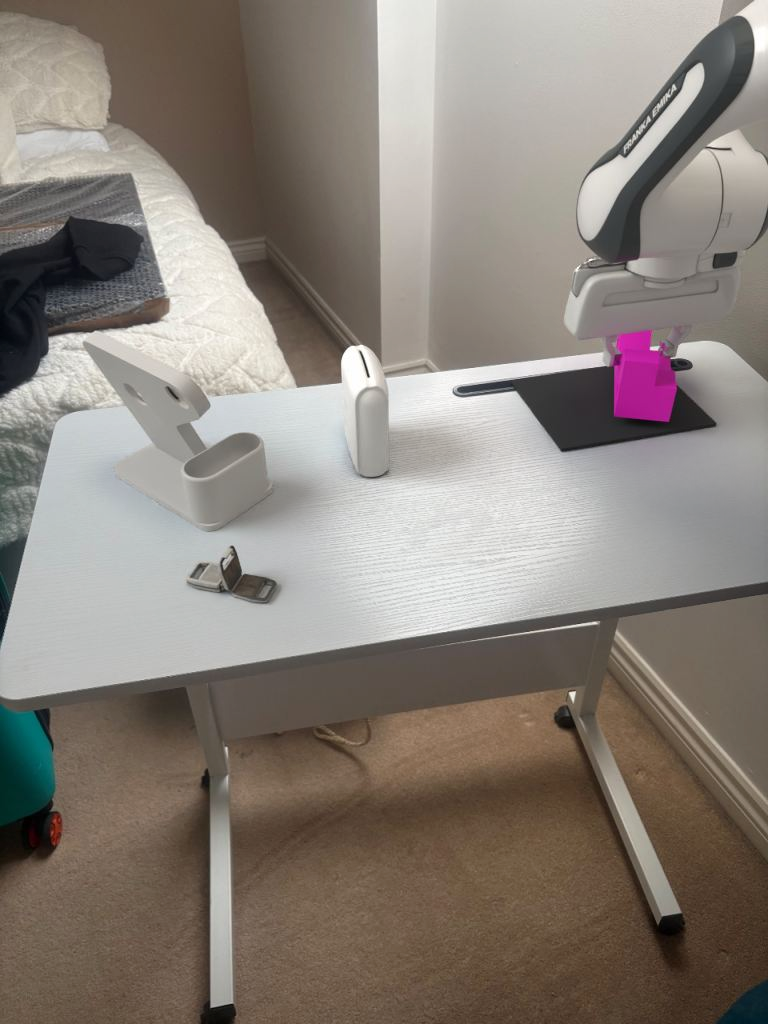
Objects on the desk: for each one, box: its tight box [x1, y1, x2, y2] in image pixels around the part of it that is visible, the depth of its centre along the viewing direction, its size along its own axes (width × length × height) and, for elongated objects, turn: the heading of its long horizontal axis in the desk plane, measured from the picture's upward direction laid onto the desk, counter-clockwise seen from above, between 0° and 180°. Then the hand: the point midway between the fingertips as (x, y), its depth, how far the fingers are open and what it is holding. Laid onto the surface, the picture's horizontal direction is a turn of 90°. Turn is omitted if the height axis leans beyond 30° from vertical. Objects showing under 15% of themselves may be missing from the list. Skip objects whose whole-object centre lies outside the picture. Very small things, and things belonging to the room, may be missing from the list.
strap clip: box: [185, 545, 278, 603], centre depth 78 cm, size 8×3×4 cm, turn 72°
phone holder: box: [82, 330, 275, 532], centre depth 86 cm, size 17×10×18 cm, turn 51°
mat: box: [510, 365, 717, 453], centre depth 103 cm, size 20×16×1 cm
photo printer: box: [340, 344, 390, 478], centre depth 92 cm, size 10×4×12 cm, turn 11°
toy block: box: [614, 330, 677, 422], centre depth 101 cm, size 15×6×8 cm, turn 168°
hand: (639, 359), depth 100 cm, fingers closed on toy block, 6 cm apart
